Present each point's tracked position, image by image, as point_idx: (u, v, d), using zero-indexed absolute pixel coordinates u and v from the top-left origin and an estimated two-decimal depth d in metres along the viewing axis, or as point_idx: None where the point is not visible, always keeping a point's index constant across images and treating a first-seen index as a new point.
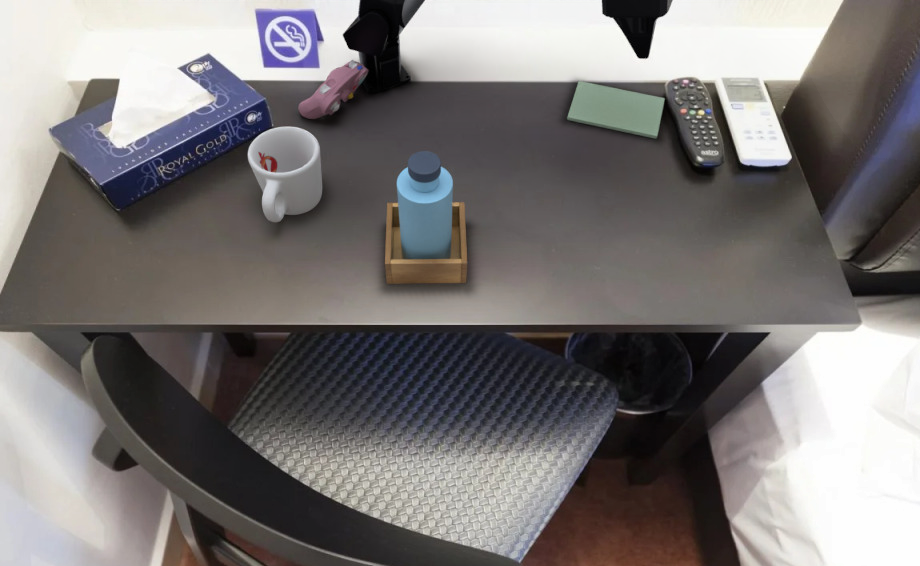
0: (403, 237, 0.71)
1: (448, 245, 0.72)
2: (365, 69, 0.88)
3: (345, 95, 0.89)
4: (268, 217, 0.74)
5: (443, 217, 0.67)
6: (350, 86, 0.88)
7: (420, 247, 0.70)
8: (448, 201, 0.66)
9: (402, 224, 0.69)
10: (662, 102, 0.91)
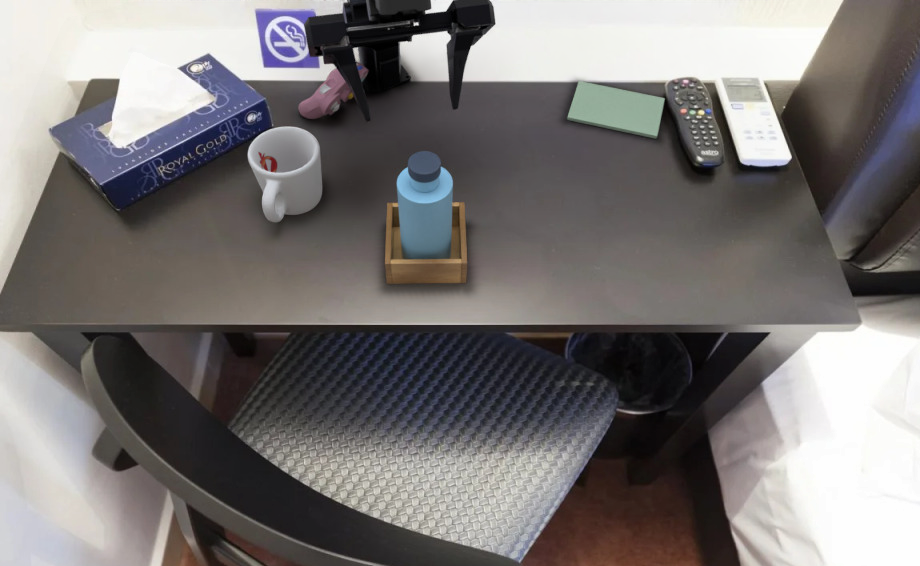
0: (403, 237, 0.71)
1: (448, 245, 0.72)
2: (365, 69, 0.88)
3: (345, 95, 0.89)
4: (268, 217, 0.74)
5: (443, 217, 0.67)
6: None
7: (420, 247, 0.70)
8: (448, 201, 0.66)
9: (402, 224, 0.69)
10: (662, 102, 0.91)
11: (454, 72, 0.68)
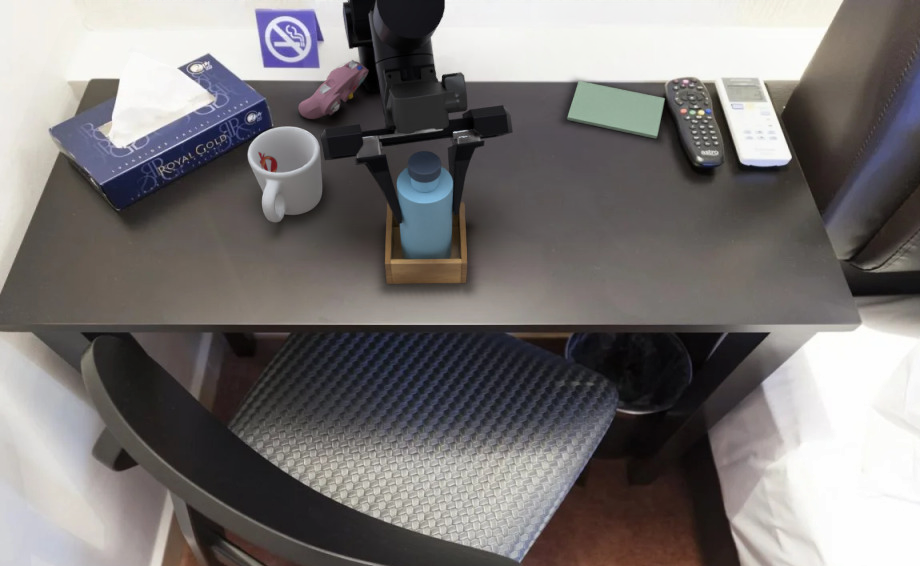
0: (403, 237, 0.71)
1: (448, 245, 0.72)
2: (365, 69, 0.88)
3: (345, 95, 0.89)
4: (268, 217, 0.74)
5: (443, 217, 0.67)
6: (350, 86, 0.88)
7: (420, 247, 0.70)
8: (449, 201, 0.66)
9: (402, 224, 0.69)
10: (662, 102, 0.91)
11: (455, 180, 0.67)
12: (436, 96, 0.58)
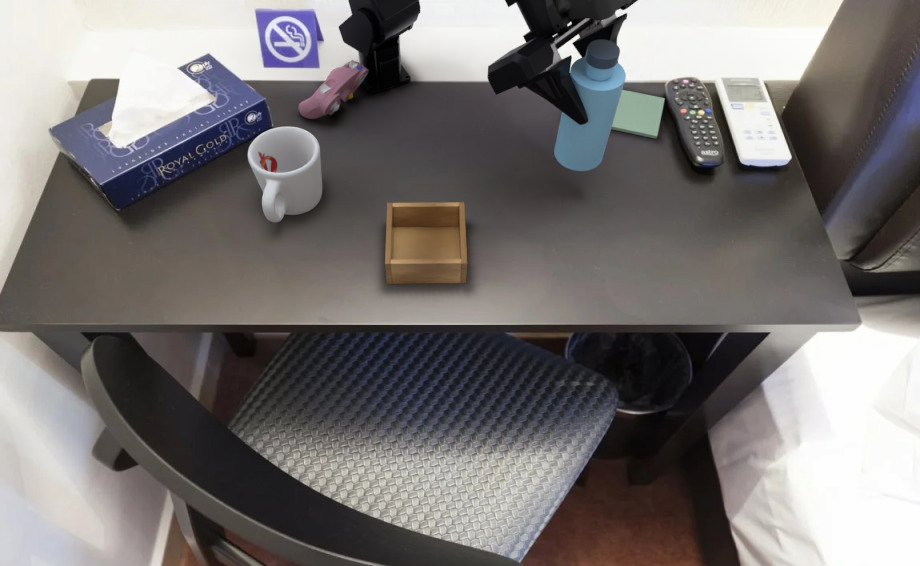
0: (578, 140, 0.72)
1: None
2: (365, 69, 0.88)
3: (345, 95, 0.89)
4: (268, 217, 0.74)
5: None
6: (350, 86, 0.88)
7: (598, 142, 0.72)
8: None
9: (580, 126, 0.70)
10: (662, 102, 0.91)
11: None
12: None
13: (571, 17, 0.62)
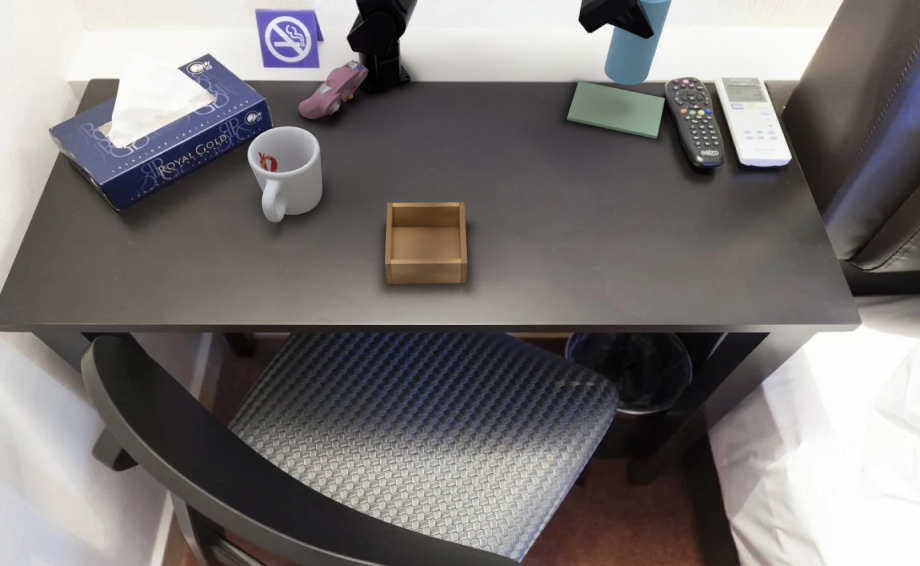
0: (641, 55, 0.80)
1: None
2: (365, 69, 0.88)
3: (345, 95, 0.89)
4: (268, 217, 0.74)
5: None
6: (350, 86, 0.88)
7: (654, 51, 0.81)
8: None
9: (644, 40, 0.78)
10: (662, 102, 0.91)
11: None
12: None
13: None
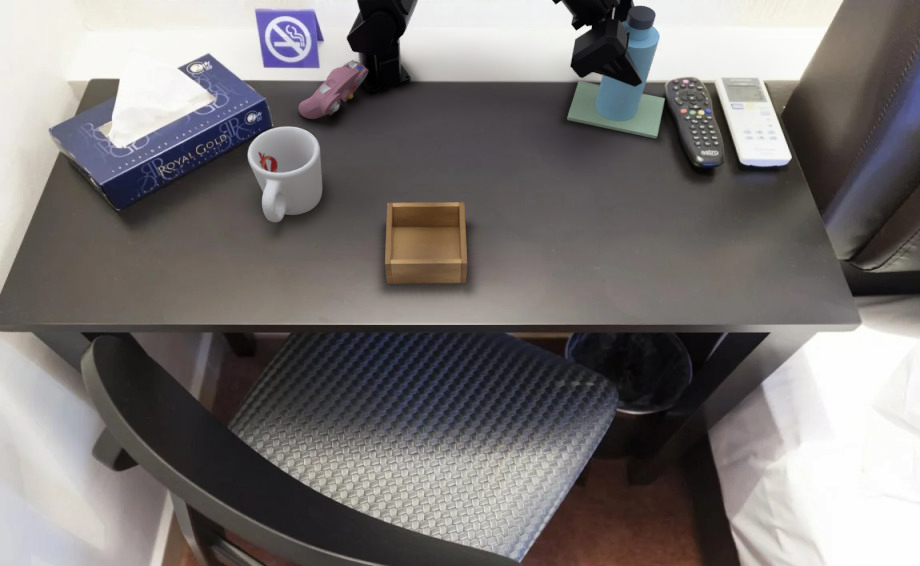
0: (629, 94, 0.85)
1: None
2: (365, 69, 0.88)
3: (345, 95, 0.89)
4: (268, 217, 0.74)
5: None
6: (350, 86, 0.88)
7: (642, 90, 0.86)
8: None
9: None
10: (662, 102, 0.91)
11: None
12: None
13: None
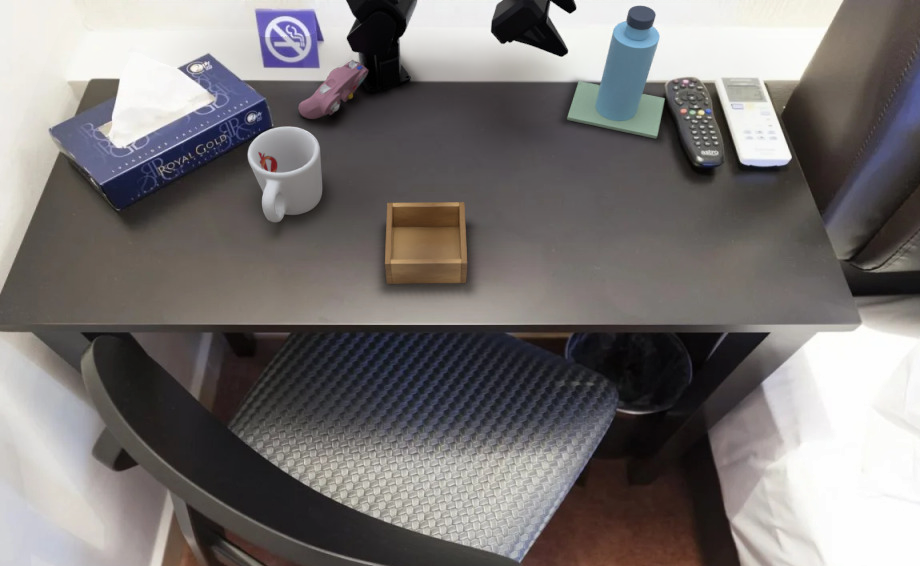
0: (629, 94, 0.85)
1: None
2: (365, 69, 0.88)
3: (345, 95, 0.89)
4: (268, 217, 0.74)
5: None
6: (350, 86, 0.88)
7: (642, 90, 0.86)
8: None
9: (632, 81, 0.83)
10: (662, 102, 0.91)
11: None
12: None
13: None
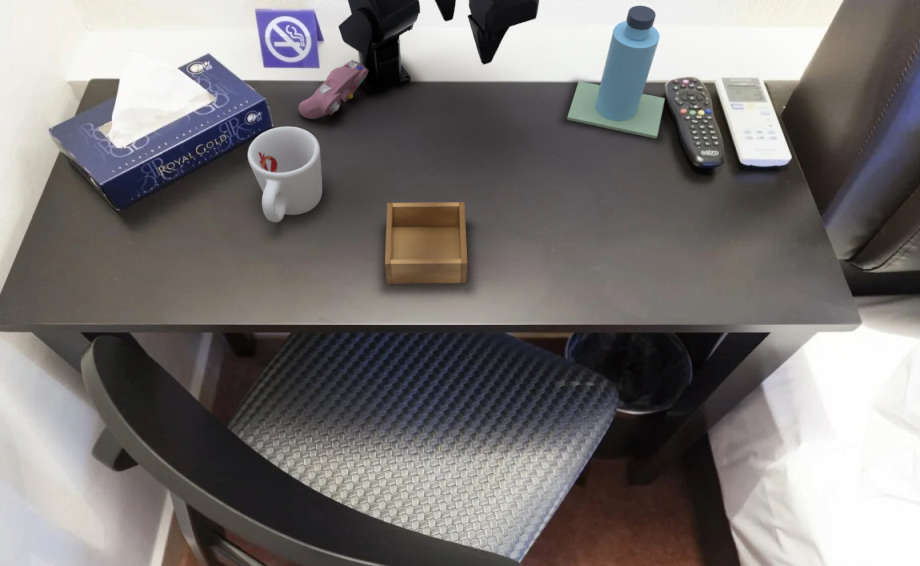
0: (629, 94, 0.85)
1: None
2: (365, 69, 0.88)
3: (345, 95, 0.89)
4: (268, 217, 0.74)
5: None
6: (350, 86, 0.88)
7: (642, 90, 0.86)
8: None
9: (632, 81, 0.83)
10: (662, 102, 0.91)
11: None
12: None
13: None
